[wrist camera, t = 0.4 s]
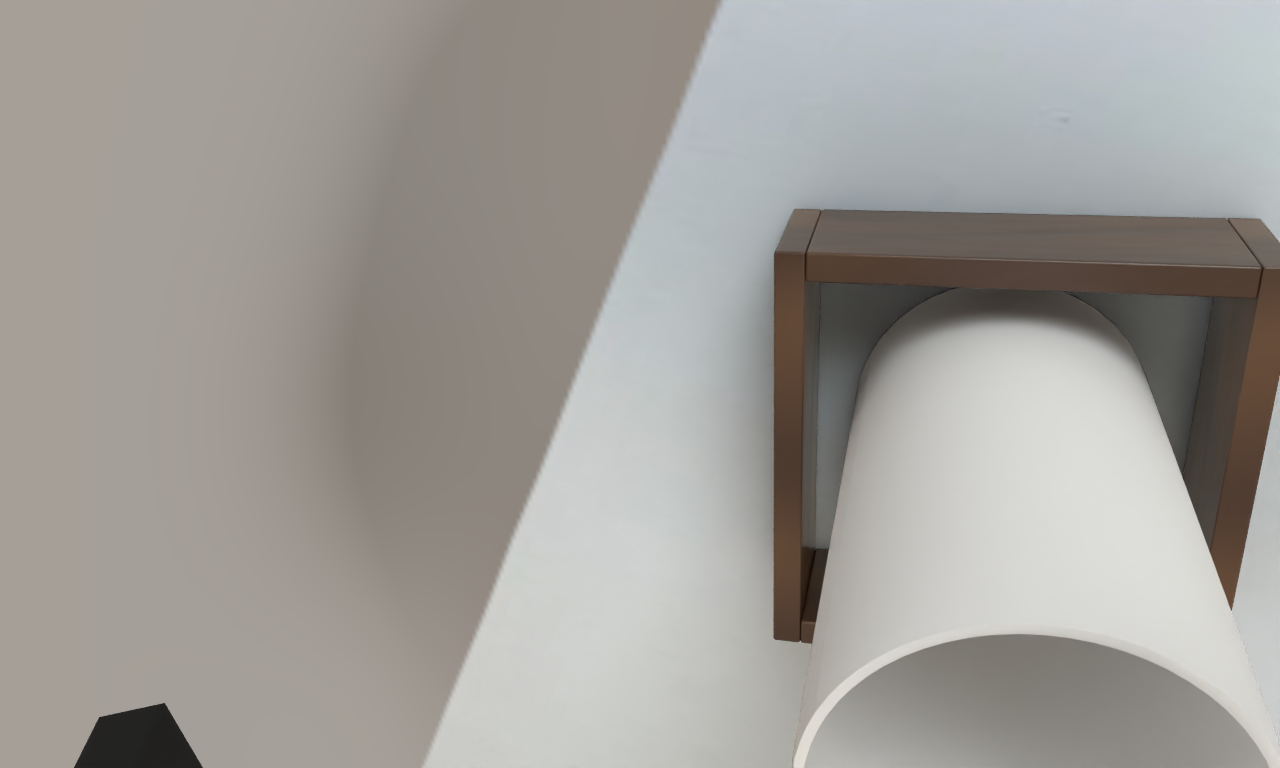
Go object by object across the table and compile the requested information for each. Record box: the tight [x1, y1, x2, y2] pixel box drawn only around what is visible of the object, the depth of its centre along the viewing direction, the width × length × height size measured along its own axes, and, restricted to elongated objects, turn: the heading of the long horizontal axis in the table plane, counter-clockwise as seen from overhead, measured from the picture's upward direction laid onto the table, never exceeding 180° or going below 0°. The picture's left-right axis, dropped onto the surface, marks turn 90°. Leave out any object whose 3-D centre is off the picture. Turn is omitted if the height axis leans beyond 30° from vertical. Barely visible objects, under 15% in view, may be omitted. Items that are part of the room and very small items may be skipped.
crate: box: [774, 209, 1280, 644], centre depth 32 cm, size 12×12×4 cm
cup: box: [792, 287, 1280, 768], centre depth 26 cm, size 8×8×16 cm
